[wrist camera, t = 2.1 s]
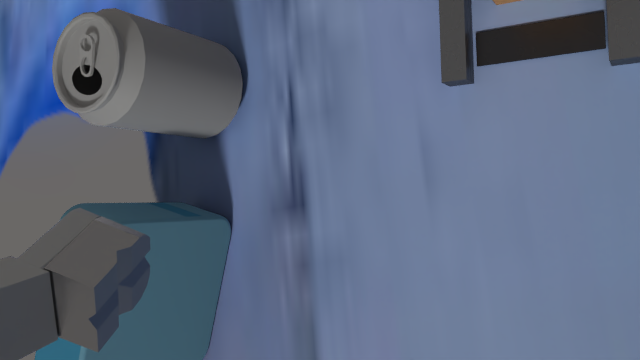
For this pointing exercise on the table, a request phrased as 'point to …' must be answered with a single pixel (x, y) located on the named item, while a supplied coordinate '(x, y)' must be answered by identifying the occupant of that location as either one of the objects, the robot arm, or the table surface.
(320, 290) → the table surface
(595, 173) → the table surface
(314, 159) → the table surface
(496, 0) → the orange brown box
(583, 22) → the switch channel
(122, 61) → the can
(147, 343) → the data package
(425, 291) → the table surface
